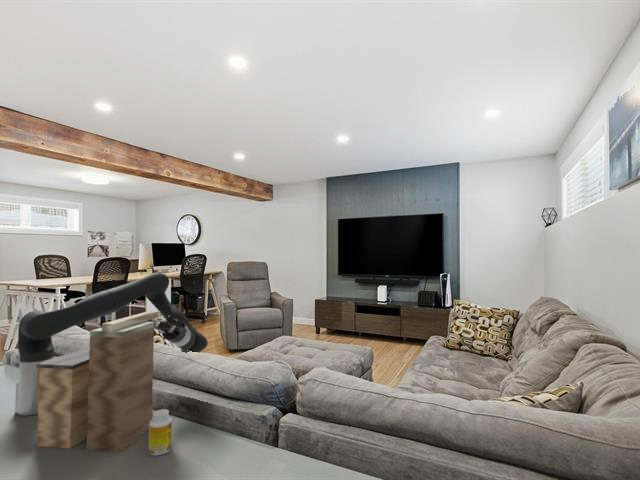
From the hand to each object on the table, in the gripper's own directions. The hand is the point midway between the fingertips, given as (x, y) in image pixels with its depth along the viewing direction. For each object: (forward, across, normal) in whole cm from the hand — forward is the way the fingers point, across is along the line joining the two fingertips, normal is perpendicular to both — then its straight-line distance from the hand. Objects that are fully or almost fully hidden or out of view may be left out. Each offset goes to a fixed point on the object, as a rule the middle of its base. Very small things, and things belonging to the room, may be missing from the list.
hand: (156, 318), depth 119 cm
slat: (+11, 0, +6) cm, 12 cm away
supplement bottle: (+3, +15, +38) cm, 41 cm away
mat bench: (-3, -15, +35) cm, 38 cm away
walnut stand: (-2, 0, +35) cm, 35 cm away
